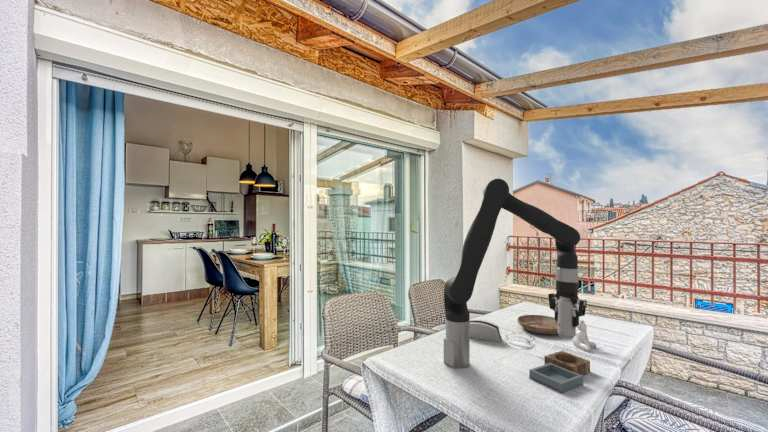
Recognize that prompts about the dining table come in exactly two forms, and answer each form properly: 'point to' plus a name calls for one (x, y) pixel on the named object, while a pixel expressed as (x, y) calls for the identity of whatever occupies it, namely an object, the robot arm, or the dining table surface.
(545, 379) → the tray
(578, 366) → the bore block
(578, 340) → the sitting furry creature
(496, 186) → the robot arm
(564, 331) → the energy drink can
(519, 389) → the dining table surface
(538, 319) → the ceramic bowl
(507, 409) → the dining table surface
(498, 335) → the grey rounded slab
